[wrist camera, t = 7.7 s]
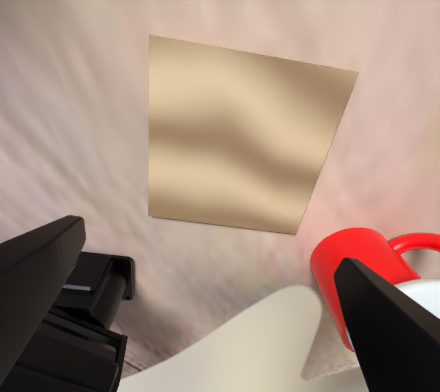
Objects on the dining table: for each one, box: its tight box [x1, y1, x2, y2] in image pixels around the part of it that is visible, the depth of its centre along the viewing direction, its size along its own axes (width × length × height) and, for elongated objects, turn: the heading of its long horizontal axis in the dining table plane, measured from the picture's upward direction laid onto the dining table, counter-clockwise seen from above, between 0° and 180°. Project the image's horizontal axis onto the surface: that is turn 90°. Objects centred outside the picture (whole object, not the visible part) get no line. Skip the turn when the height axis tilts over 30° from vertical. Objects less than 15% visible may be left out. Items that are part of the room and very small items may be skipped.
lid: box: [346, 278, 440, 351], centre depth 16 cm, size 9×9×5 cm
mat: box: [148, 35, 359, 234], centre depth 19 cm, size 14×14×1 cm
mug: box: [310, 228, 440, 352], centre depth 21 cm, size 8×12×8 cm, turn 130°
